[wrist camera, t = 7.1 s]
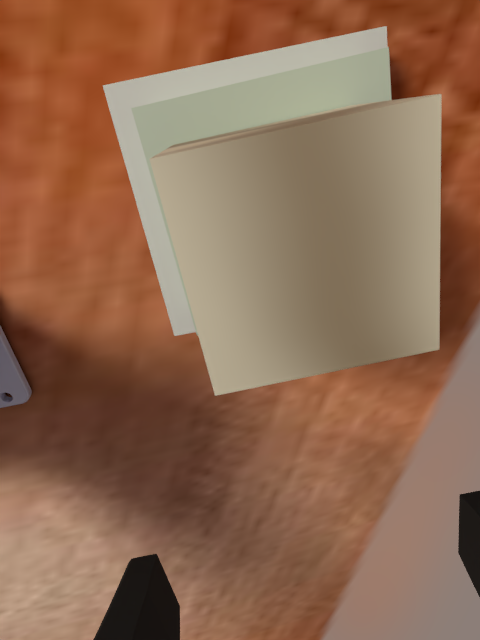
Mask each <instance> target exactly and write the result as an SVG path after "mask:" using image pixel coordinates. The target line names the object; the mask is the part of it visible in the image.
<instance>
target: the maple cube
mask: <svg viewBox="0 0 480 640" xmlns="http://www.w3.org/2000/svg"><path fill="white" fill-rule="evenodd" d="M149 160H150V163H151V167H152V170H153V174H154V178H155V181H156V185H157V188H158V192H159V196H160V199H161V203H162V206H163V210H164V214H165V217H166V221H167V224H168V228H169V232H170V235H171V239H172V242H173V246H174V250H175V253H176V257H177V260H178V264H179V268H180V271H181V275H182V278H183V282H184V286H185V289H186V293H187V296H188V300H189V304H190V307H191V311H192V314H193V318H194V322H195V325H196V329H197V332H198V336H199V340H200V343H201V347H202V350H203V354H204V358H205V361H206V365H207V368H208V372H209V376H210V379H211V383H212V386H213V390H214V394H215V396H217V395H222V394H226V393H231V392H236V391H241V390H246V389H251V388H256V387H260V386H265V385H270V384H275V383H280V382H285V381H290V380H294V379H299V378H304V377H309V376H314V375H319V374H324V373H328V372H333V371H338V370H343V369H348V368H353V367H357V366H362V365H367V364H372V363H377V362H382V361H387V360H391V359H396V358H401V357H406V356H411V355H416V354H421V353H425V352H430V351H435V350H439V341H440V213H441V94H437V95H429V96H421V97H413V98H405V99H397V100H389V101H381V102H373V103H365V104H357V105H350V106H345V107H341V108H336V109H332V110H327V111H323V112H319V113H314V114H310V115H305V116H301V117H296V118H292V119H287V120H283V121H278V122H274V123H269V124H265V125H260V126H256V127H251V128H247V129H242V130H238V131H233V132H229V133H224V134H220V135H216V136H211V137H207V138H202V139H198V140H193V141H189V142H184V143H180V144H175V145H172V146H170V147H169V148H167V149H165V150H164V151H162V152H160V153H159V154H157V155H155V156H153V157H152V158H150V159H149Z"/></svg>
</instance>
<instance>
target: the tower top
mask: <svg viewBox="0 0 480 640" xmlns="http://www.w3.org/2000/svg"><path fill="white" fill-rule="evenodd" d="M389 100H392V99H391V79H390V60H389V47H387V48H382V49H378V50H374V51H370V52H366V53H361V54H357V55H353V56H349V57H345V58H340V59H336V60H332V61H328V62H324V63H319V64H315V65H311V66H307V67H302V68H298V69H294V70H290V71H286V72H281V73H277V74H273V75H269V76H265V77H260V78H256V79H252V80H248V81H244V82H239V83H235V84H231V85H227V86H223V87H218V88H214V89H210V90H206V91H201V92H197V93H193V94H189V95H185V96H180V97H176V98H172V99H168V100H164V101H159V102H155V103H151V104H147V105H143V106H138V107H134V108H131V109H132V113H133V116H134V120H135V123H136V127H137V130H138V133H139V137H140V140H141V144H142V147H143V151H144V154H145V158H146V161H147V165H148V168H149V172H150V175H151V178H152V182H153V185H154V189H155V192H156V196H157V199H158V203H159V206H160V210H161V213H162V216H163V220H164V223H165V227H166V230H167V234H168V237H169V241H170V244H171V248H172V251H173V254H174V258H175V261H176V265H177V268H178V272H179V275H180V279H181V282H182V286H183V289H184V293H185V296H186V299H187V303H188V306H189V310H190V313H191V317H192V320H193V324H194V327H195V331H196V334H197V335H198V332H197V329H196V325H195V322H194V318H193V314H192V311H191V307H190V304H189V300H188V296H187V293H186V289H185V286H184V282H183V278H182V275H181V271H180V268H179V264H178V260H177V257H176V253H175V250H174V246H173V242H172V239H171V235H170V232H169V228H168V224H167V221H166V217H165V214H164V210H163V206H162V203H161V199H160V196H159V192H158V188H157V185H156V181H155V178H154V174H153V170H152V167H151V163H150V160H149V159H150V158H152V157H153V156H155V155H157V154H159V153H160V152H162V151H164V150H165V149H167V148H169V147H170V146H172V145H175V144H180V143H184V142H189V141H193V140H198V139H202V138H207V137H211V136H216V135H220V134H224V133H229V132H233V131H238V130H242V129H247V128H251V127H256V126H260V125H265V124H269V123H274V122H278V121H283V120H287V119H292V118H296V117H301V116H305V115H310V114H314V113H319V112H323V111H327V110H332V109H336V108H341V107H345V106H350V105H357V104H365V103H373V102H381V101H389Z"/></svg>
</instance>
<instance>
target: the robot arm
mask: <svg viewBox="0 0 480 640" xmlns="http://www.w3.org/2000/svg"><path fill="white" fill-rule="evenodd" d="M5 393H9V394H11V395H12V397H8V396H6V394H5ZM31 394H32V391H31V388H30V386H29V384H28V382H27V380H26V378H25V376H24V373H23V371H22V369H21V367H20V365H19V363H18V361H17V359H16V357H15V355H14V353H13V351H12V349H11V347H10V345H9V342H8V340H7V338H6V336H5V334H4V332H3V330H2V328H1V326H0V408H3V407H8V406H13V405H18V404H23V403H25V402H27V401H28V399H29V398H30V396H31ZM459 508H460V509H459V511H460V512H459V551H458V552H459V555H460V557H461V559H462V561H463V564H464V566H465V568H466V570H467V572H468V574H469V576H470V578H471V580H472V583H473V585H474V587H475V588H476V591H477V593H478V595H479V597H480V491H476V492H471V493H466V494H461V495H460V507H459ZM94 640H180V606H179V603H178V601H177V599H176V596H175V594H174V592H173V590H172V587H171V585H170V583H169V581H168V578H167V576H166V574H165V572H164V569H163V567H162V565H161V563H160V560H159V558H158V556H157V554H153V555H148V556H143V557H138V558H133V559H131V560H130V562H129V563H128V565H127V568H126V570H125V572H124V575H123V577H122V579H121V581H120V584H119V586H118V588H117V591H116V593H115V595H114V597H113V599H112V602H111V604H110V606H109V608H108V610H107V613H106V615H105V617H104V619H103V621H102V623H101V625H100V628H99V630H98V632H97V634H96V636H95V638H94Z"/></svg>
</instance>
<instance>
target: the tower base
mask: <svg viewBox="0 0 480 640" xmlns="http://www.w3.org/2000/svg"><path fill="white" fill-rule="evenodd" d="M382 48H387V26H385V27H380V28H375V29H370V30H366V31H361V32H356V33H351V34H346V35H342V36H337V37H332V38H327V39H323V40H318V41H313V42H308V43H304V44H299V45H294V46H289V47H284V48H280V49H275V50H270V51H265V52H261V53H256V54H251V55H246V56H242V57H237V58H232V59H227V60H222V61H218V62H213V63H208V64H203V65H199V66H194V67H189V68H184V69H180V70H175V71H170V72H165V73H160V74H156V75H151V76H146V77H141V78H137V79H132V80H127V81H122V82H118V83H113V84H108V85H103V88H104V92H105V95H106V99H107V102H108V106H109V109H110V113H111V116H112V120H113V123H114V127H115V130H116V134H117V137H118V141H119V144H120V148H121V151H122V154H123V158H124V161H125V165H126V168H127V172H128V175H129V179H130V182H131V186H132V189H133V193H134V196H135V200H136V203H137V207H138V210H139V214H140V217H141V221H142V224H143V228H144V231H145V235H146V238H147V242H148V245H149V249H150V252H151V256H152V259H153V263H154V266H155V270H156V273H157V277H158V280H159V284H160V287H161V290H162V294H163V297H164V301H165V304H166V308H167V311H168V315H169V318H170V322H171V325H172V329H173V332H174V336H177V335H183V334H188V333H193V332H196V331H195V327H194V324H193V320H192V317H191V313H190V310H189V306H188V303H187V299H186V296H185V293H184V289H183V286H182V282H181V279H180V275H179V272H178V268H177V265H176V261H175V258H174V254H173V251H172V248H171V244H170V241H169V237H168V234H167V230H166V227H165V223H164V220H163V216H162V213H161V210H160V206H159V203H158V199H157V196H156V192H155V189H154V185H153V182H152V178H151V175H150V172H149V168H148V165H147V161H146V158H145V154H144V151H143V147H142V144H141V140H140V137H139V133H138V130H137V127H136V123H135V120H134V116H133V113H132V109H131V108H134V107H138V106H143V105H147V104H151V103H155V102H159V101H164V100H168V99H172V98H176V97H180V96H185V95H189V94H193V93H197V92H201V91H206V90H210V89H214V88H218V87H223V86H227V85H231V84H235V83H239V82H244V81H248V80H252V79H256V78H260V77H265V76H269V75H273V74H277V73H281V72H286V71H290V70H294V69H298V68H302V67H307V66H311V65H315V64H319V63H324V62H328V61H332V60H336V59H340V58H345V57H349V56H353V55H357V54H361V53H366V52H370V51H374V50H378V49H382Z"/></svg>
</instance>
